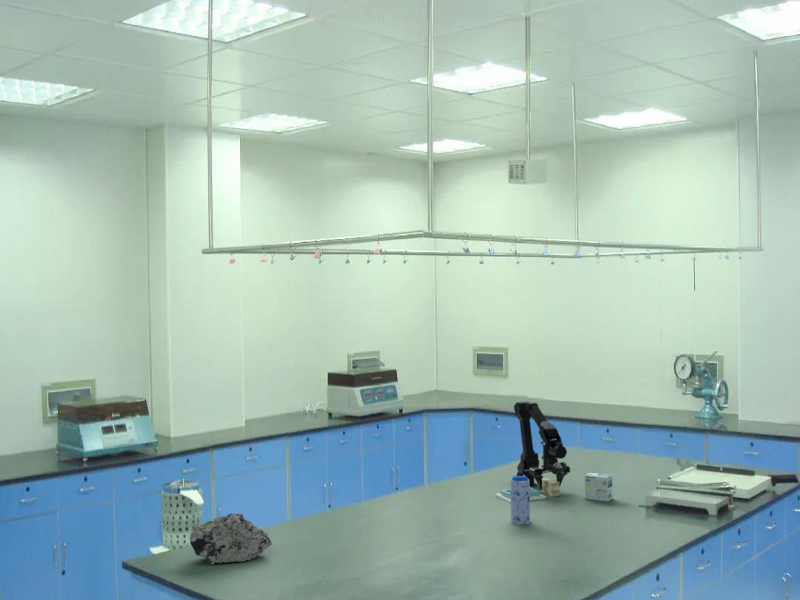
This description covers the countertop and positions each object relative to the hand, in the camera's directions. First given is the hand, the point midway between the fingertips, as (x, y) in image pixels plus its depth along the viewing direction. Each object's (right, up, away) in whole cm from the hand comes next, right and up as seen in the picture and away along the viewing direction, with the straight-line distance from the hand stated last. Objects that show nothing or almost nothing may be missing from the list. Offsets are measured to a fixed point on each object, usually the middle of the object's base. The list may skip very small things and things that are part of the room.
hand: (549, 489), depth 380 cm
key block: (0, -2, 0) cm, 2 cm away
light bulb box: (+20, -2, -12) cm, 23 cm away
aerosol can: (-20, -3, -48) cm, 52 cm away
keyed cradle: (-15, -2, -7) cm, 16 cm away
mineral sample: (-128, -4, -88) cm, 155 cm away
